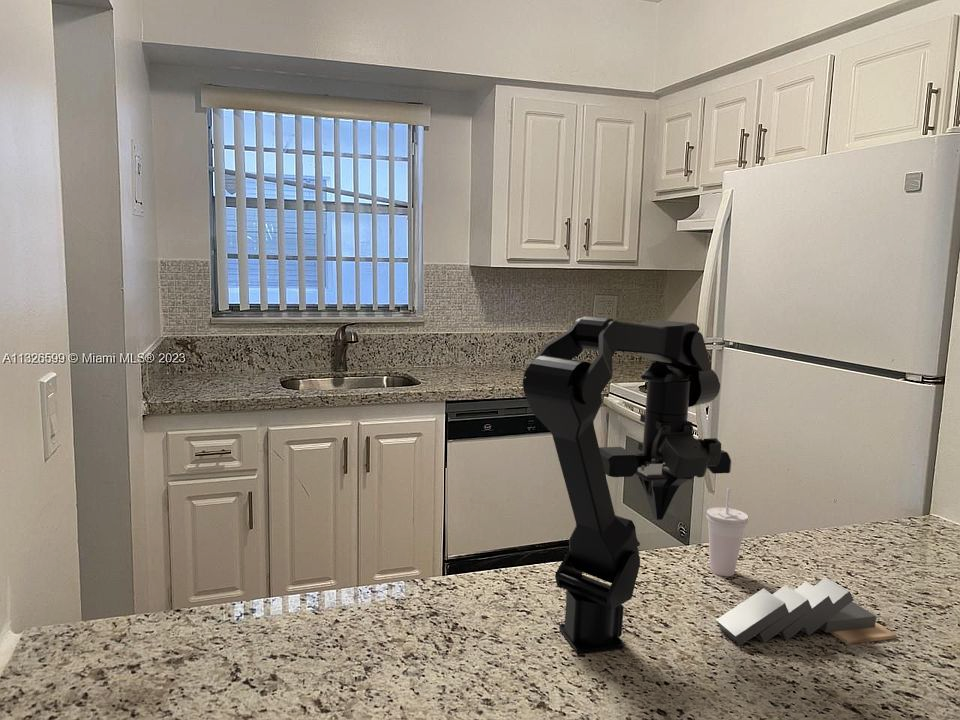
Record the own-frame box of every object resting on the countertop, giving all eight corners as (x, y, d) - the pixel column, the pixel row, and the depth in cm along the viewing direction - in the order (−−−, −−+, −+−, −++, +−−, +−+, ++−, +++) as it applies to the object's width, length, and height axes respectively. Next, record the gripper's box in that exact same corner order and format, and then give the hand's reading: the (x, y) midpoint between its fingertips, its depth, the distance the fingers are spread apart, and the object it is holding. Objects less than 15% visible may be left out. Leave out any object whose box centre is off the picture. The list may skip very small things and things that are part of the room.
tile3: (782, 631, 95) (828, 595, 96) (761, 615, 99) (806, 581, 100) (787, 640, 95) (833, 604, 96) (765, 624, 99) (810, 589, 101)
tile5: (827, 621, 96) (876, 616, 99) (804, 606, 101) (851, 601, 103) (826, 632, 97) (874, 627, 99) (803, 617, 101) (850, 612, 103)
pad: (846, 644, 95) (847, 640, 95) (799, 611, 103) (800, 608, 103) (896, 638, 97) (896, 634, 97) (845, 607, 106) (846, 604, 106)
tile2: (759, 633, 94) (807, 599, 95) (739, 617, 98) (785, 584, 99) (764, 643, 94) (812, 608, 95) (743, 626, 98) (789, 593, 100)
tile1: (735, 636, 93) (784, 603, 94) (715, 619, 97) (763, 588, 98) (739, 645, 93) (789, 612, 95) (720, 629, 97) (767, 597, 99)
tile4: (804, 627, 96) (849, 591, 97) (782, 611, 100) (825, 577, 101) (808, 635, 96) (853, 599, 97) (786, 620, 100) (829, 585, 101)
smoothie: (697, 573, 115) (705, 488, 113) (705, 560, 121) (712, 478, 119) (740, 583, 112) (748, 496, 110) (745, 569, 118) (754, 485, 116)
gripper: (632, 424, 91) (623, 544, 93) (760, 422, 96) (749, 536, 98) (595, 407, 101) (588, 514, 103) (712, 406, 106) (703, 509, 108)
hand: (657, 519), depth 103 cm, fingers closed
